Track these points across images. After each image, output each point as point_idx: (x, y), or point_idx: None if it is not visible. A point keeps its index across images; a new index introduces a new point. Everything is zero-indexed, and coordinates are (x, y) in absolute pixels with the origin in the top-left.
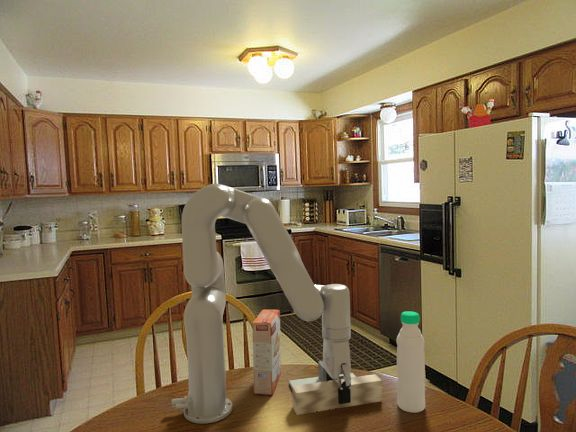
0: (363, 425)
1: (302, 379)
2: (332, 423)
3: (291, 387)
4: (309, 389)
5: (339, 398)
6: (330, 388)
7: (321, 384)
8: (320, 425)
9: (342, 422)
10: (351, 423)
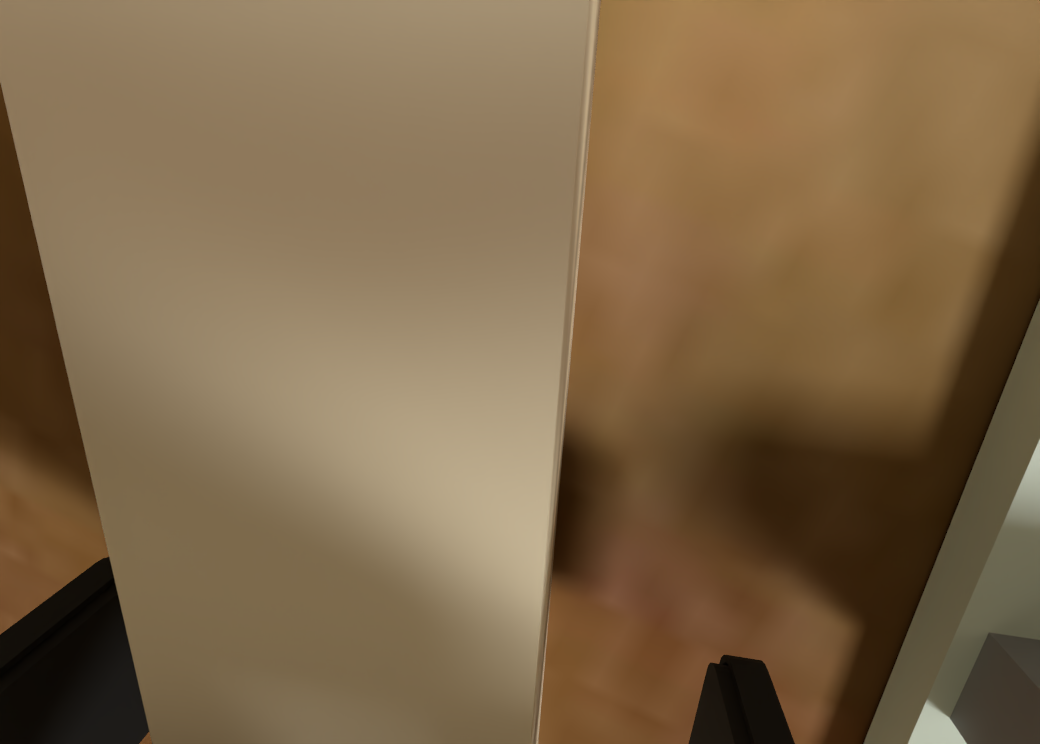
0: (4, 581)
1: None
2: (51, 316)
3: None
4: (121, 77)
5: (28, 626)
6: (140, 668)
7: (384, 581)
8: (14, 149)
9: (65, 429)
10: (41, 502)
